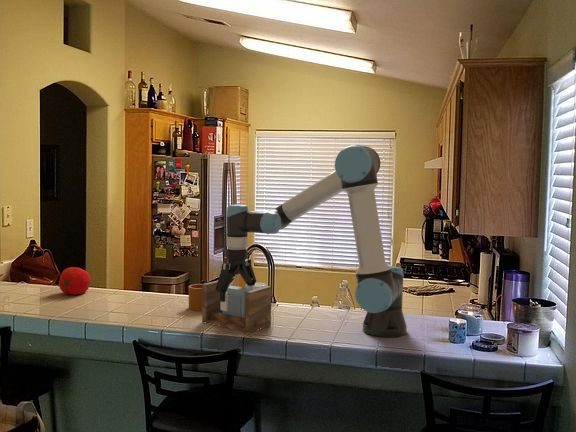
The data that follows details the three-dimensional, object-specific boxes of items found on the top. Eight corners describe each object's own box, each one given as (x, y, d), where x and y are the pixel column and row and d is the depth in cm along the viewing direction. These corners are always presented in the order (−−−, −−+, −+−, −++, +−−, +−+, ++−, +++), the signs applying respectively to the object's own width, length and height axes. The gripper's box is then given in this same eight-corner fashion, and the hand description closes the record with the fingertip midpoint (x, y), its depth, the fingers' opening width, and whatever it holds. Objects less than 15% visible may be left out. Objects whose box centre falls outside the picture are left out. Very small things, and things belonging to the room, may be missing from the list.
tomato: (80, 297, 261) (61, 304, 249) (66, 272, 262) (46, 278, 249) (101, 283, 258) (82, 290, 245) (86, 258, 258) (67, 264, 246)
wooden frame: (270, 325, 210) (271, 286, 209) (250, 332, 201) (250, 292, 199) (223, 315, 223) (223, 278, 221) (202, 322, 213) (202, 284, 212)
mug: (213, 312, 227) (213, 289, 226) (184, 310, 230) (184, 287, 229) (222, 306, 235) (221, 284, 234) (194, 304, 238) (193, 283, 237)
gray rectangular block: (251, 321, 211) (251, 288, 210) (243, 324, 207) (244, 291, 206) (229, 317, 216) (229, 285, 215) (221, 319, 212) (221, 287, 211)
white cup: (263, 312, 228) (263, 286, 227) (243, 310, 230) (244, 285, 229) (268, 307, 236) (268, 282, 235) (249, 306, 237) (249, 281, 237)
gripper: (250, 243, 221) (249, 298, 223) (205, 251, 201) (205, 311, 203) (266, 245, 217) (265, 301, 219) (222, 253, 197) (221, 315, 199)
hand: (236, 306), depth 211 cm, fingers open, 13 cm apart
